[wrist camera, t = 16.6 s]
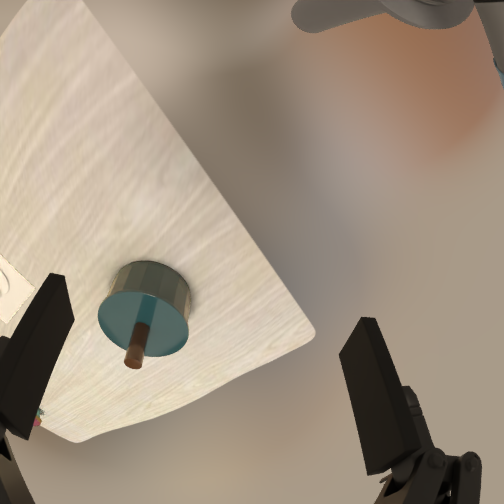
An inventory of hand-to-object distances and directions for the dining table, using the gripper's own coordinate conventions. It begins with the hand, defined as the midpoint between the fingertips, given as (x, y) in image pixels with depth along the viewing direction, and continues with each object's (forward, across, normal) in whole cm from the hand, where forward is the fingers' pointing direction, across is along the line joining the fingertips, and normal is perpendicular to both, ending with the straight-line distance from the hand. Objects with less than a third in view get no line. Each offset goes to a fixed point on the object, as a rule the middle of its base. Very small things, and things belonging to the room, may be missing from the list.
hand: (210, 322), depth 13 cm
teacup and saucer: (+30, -48, -32) cm, 65 cm away
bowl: (+30, -9, -28) cm, 42 cm away
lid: (+23, -9, -28) cm, 37 cm away
